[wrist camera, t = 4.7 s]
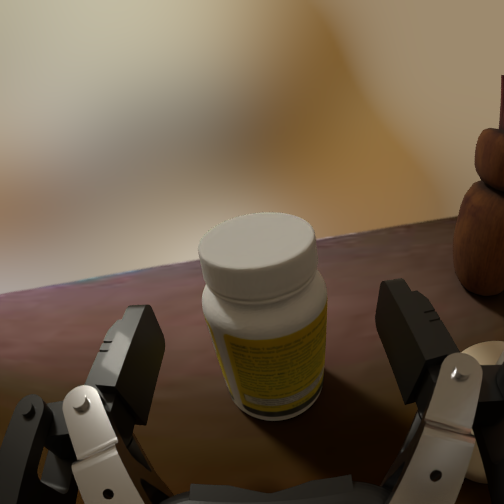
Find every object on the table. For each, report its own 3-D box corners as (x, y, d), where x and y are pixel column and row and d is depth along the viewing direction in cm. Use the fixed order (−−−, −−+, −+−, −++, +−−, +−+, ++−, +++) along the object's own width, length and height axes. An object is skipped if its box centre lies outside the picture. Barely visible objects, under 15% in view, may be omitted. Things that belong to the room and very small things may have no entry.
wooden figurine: (464, 250, 22) (480, 72, 14) (518, 276, 17) (548, 88, 10) (432, 285, 19) (451, 60, 11) (497, 321, 14) (545, 77, 7)
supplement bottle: (341, 379, 14) (356, 228, 10) (274, 441, 12) (248, 301, 7) (276, 336, 17) (260, 198, 13) (211, 383, 15) (162, 243, 11)
